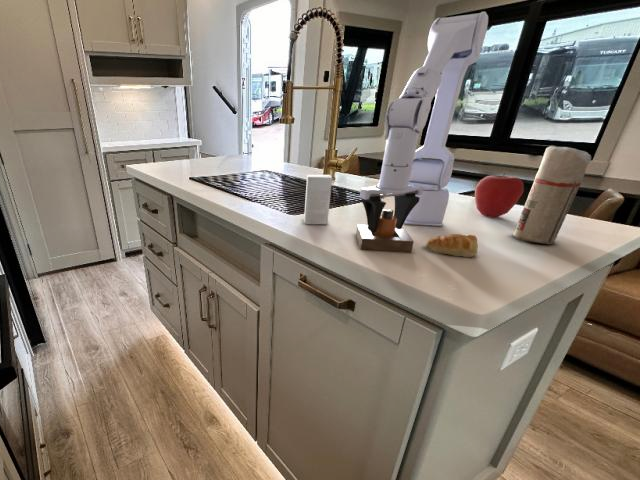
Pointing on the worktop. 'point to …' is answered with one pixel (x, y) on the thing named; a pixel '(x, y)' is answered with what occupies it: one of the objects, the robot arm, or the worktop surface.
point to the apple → (497, 194)
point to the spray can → (552, 194)
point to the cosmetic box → (317, 199)
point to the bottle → (386, 224)
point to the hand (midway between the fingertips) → (384, 229)
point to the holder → (384, 240)
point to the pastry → (454, 245)
